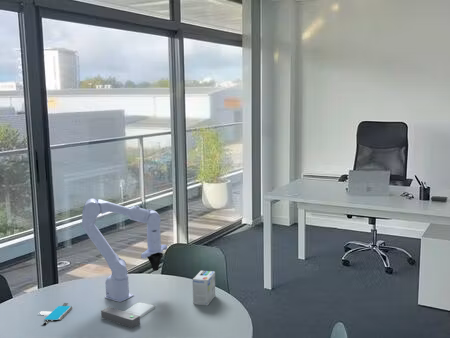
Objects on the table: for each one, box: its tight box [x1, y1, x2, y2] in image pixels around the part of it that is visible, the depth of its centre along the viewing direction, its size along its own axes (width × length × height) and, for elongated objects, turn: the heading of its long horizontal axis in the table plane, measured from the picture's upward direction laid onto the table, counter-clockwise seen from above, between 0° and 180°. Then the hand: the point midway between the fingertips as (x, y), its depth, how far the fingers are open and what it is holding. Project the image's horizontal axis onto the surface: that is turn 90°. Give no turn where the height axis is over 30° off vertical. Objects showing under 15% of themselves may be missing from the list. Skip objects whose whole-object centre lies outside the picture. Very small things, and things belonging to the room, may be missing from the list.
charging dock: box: [100, 306, 141, 329], centre depth 177 cm, size 16×4×3 cm, turn 57°
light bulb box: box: [192, 270, 216, 306], centre depth 194 cm, size 11×7×11 cm, turn 164°
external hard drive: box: [124, 301, 156, 319], centre depth 184 cm, size 2×8×12 cm
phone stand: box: [39, 302, 73, 325], centre depth 184 cm, size 20×12×2 cm, turn 174°
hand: (155, 270), depth 201 cm, fingers closed
